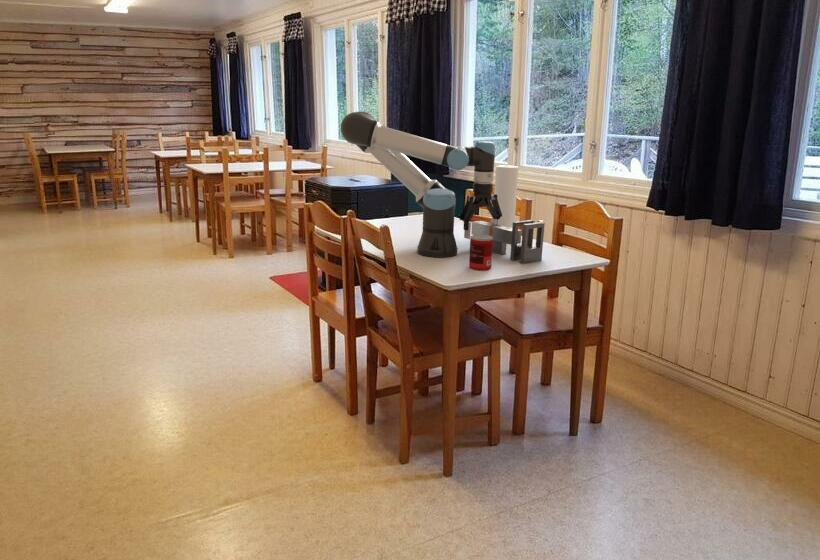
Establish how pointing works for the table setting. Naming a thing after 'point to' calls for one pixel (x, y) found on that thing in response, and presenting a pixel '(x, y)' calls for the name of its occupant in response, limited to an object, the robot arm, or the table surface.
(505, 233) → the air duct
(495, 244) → the stand
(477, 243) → the canned food
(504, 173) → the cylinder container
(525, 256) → the collar stand
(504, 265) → the table surface
